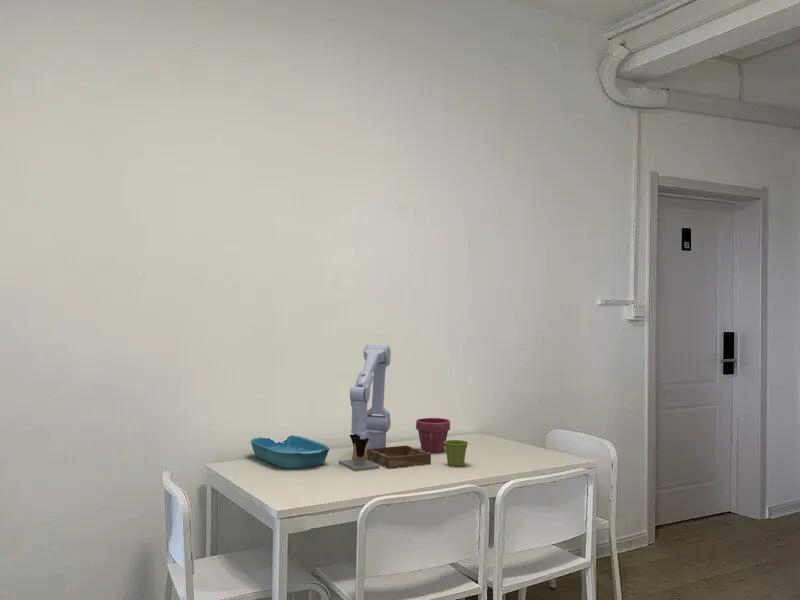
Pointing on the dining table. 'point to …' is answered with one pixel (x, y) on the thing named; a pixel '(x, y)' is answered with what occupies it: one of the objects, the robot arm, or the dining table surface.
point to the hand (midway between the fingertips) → (358, 455)
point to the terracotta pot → (356, 454)
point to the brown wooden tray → (398, 456)
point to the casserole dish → (290, 452)
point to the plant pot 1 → (432, 433)
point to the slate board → (358, 465)
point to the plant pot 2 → (455, 452)
